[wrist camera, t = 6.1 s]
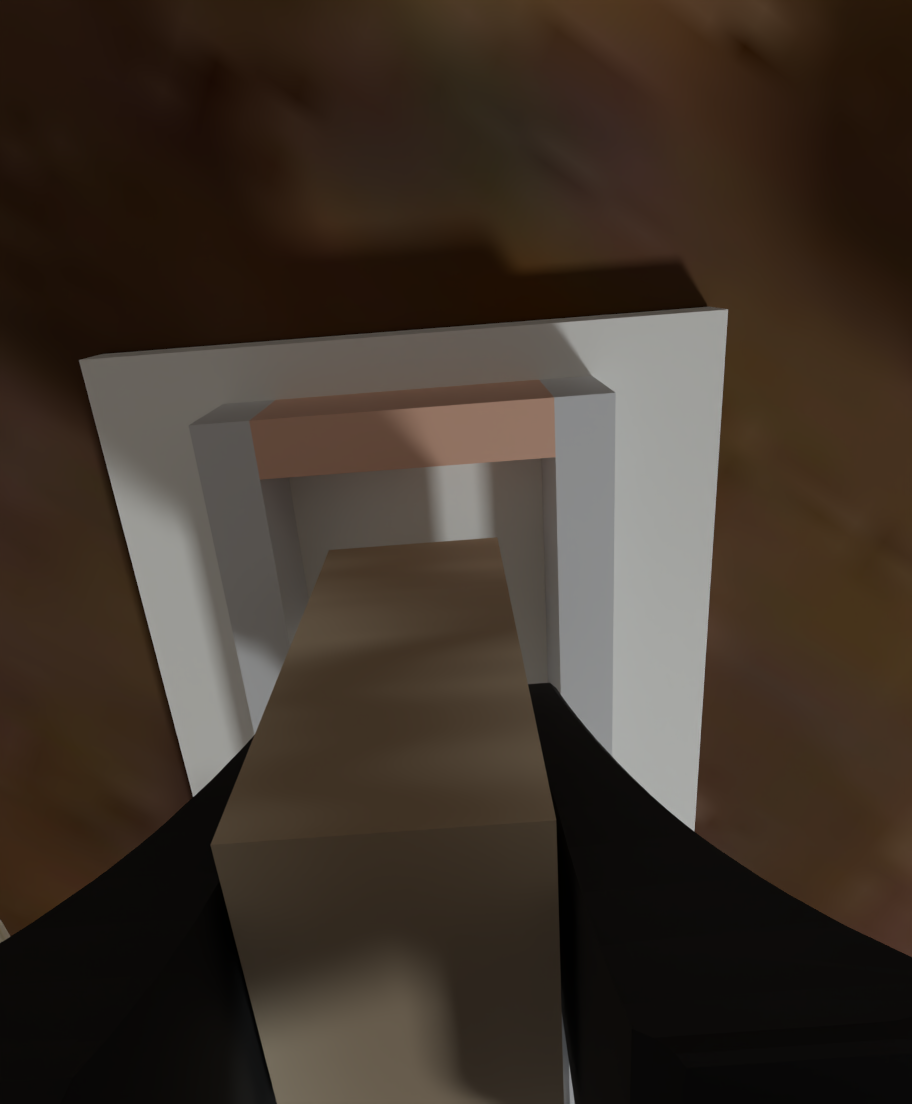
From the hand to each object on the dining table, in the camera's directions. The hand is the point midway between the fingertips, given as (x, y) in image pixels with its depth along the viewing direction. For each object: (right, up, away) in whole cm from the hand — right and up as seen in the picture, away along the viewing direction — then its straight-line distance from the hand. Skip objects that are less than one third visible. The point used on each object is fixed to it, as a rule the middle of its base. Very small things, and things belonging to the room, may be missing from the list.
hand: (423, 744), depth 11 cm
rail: (0, -3, +7) cm, 7 cm away
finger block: (0, +1, +2) cm, 2 cm away
